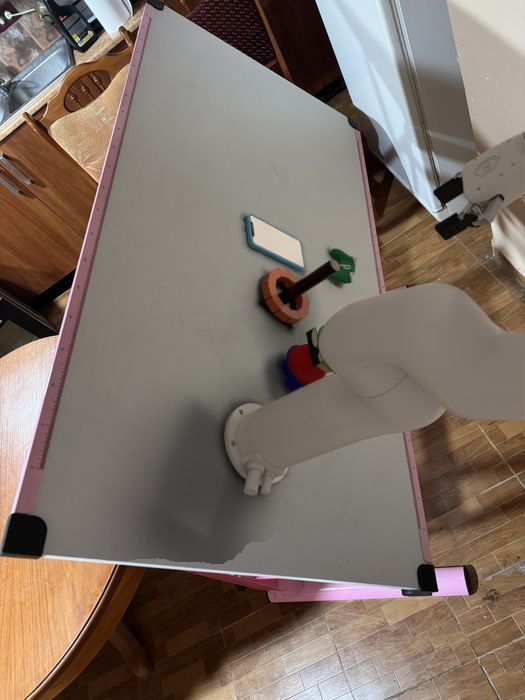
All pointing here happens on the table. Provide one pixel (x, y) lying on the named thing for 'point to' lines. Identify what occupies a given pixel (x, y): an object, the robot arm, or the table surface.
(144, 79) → the table surface
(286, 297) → the post
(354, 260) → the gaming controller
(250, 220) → the smartphone
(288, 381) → the toy
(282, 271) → the ring
